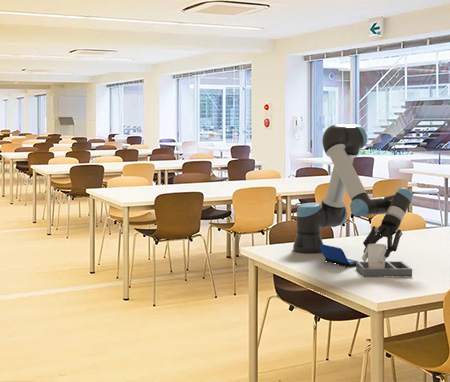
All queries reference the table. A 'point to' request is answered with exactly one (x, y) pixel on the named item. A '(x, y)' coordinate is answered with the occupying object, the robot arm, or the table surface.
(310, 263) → the table surface
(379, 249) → the white cup
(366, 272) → the walled box
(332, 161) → the robot arm
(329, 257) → the handheld game console
